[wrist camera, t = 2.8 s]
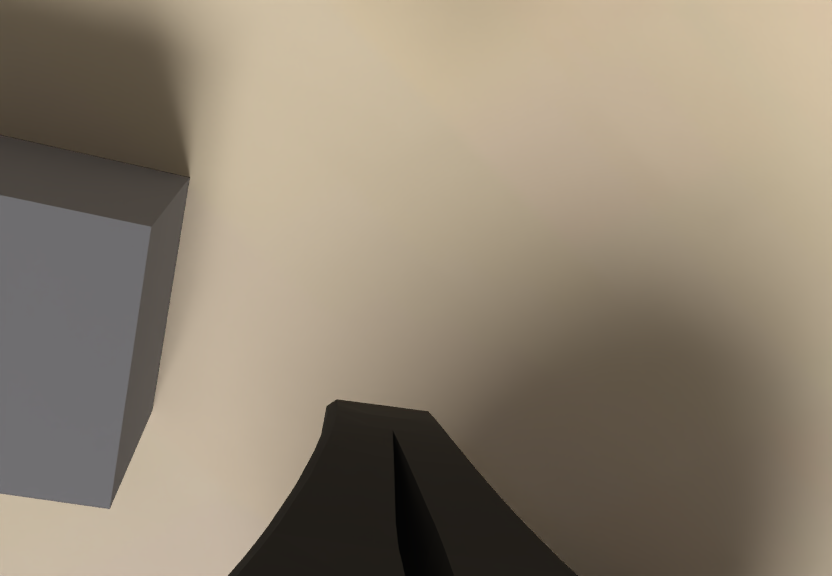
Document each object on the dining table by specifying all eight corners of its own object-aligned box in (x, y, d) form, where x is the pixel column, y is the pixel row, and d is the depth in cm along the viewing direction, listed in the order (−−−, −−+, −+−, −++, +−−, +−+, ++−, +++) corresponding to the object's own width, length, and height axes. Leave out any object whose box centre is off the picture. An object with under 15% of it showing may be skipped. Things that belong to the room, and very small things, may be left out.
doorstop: (-110, 363, 18) (-229, 461, 14) (-103, 109, 16) (-237, 144, 12) (153, 406, 19) (109, 508, 15) (191, 175, 17) (151, 226, 13)
